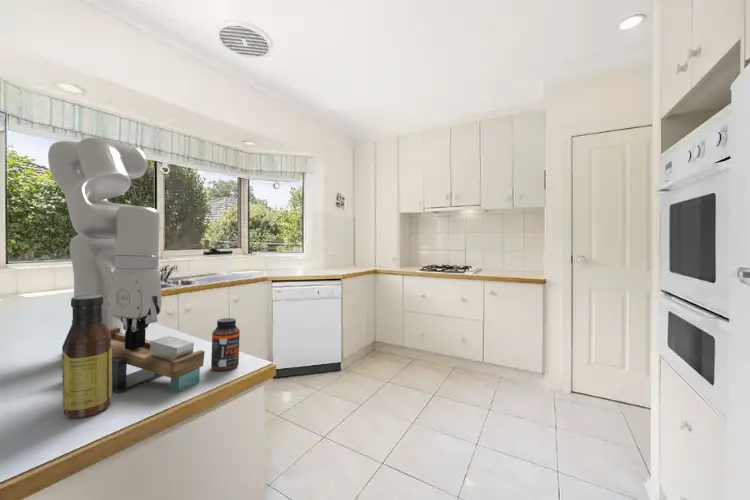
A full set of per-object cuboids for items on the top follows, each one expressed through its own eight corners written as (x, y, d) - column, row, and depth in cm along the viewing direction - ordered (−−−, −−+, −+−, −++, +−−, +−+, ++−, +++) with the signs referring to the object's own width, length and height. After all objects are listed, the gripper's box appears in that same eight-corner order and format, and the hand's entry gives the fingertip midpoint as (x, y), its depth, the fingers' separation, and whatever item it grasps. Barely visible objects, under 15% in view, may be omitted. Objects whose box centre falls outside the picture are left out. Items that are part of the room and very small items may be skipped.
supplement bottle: (227, 373, 71) (229, 323, 71) (205, 370, 72) (206, 321, 72) (244, 363, 77) (245, 317, 76) (222, 361, 78) (223, 316, 78)
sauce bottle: (84, 401, 56) (86, 292, 56) (120, 401, 57) (122, 293, 57) (49, 422, 50) (51, 298, 50) (91, 421, 50) (93, 299, 50)
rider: (148, 360, 64) (150, 340, 64) (166, 353, 68) (168, 335, 67) (175, 368, 62) (177, 348, 62) (192, 361, 66) (194, 342, 66)
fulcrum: (61, 381, 64) (61, 353, 64) (126, 360, 77) (127, 336, 77) (159, 401, 57) (159, 370, 57) (214, 374, 70) (214, 348, 70)
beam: (77, 360, 67) (79, 335, 67) (116, 349, 74) (118, 326, 74) (170, 391, 60) (173, 363, 60) (203, 376, 67) (206, 350, 67)
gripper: (92, 262, 66) (90, 348, 66) (146, 266, 62) (144, 358, 62) (129, 261, 73) (127, 338, 73) (179, 264, 69) (177, 347, 69)
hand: (135, 347), depth 68 cm, fingers closed
